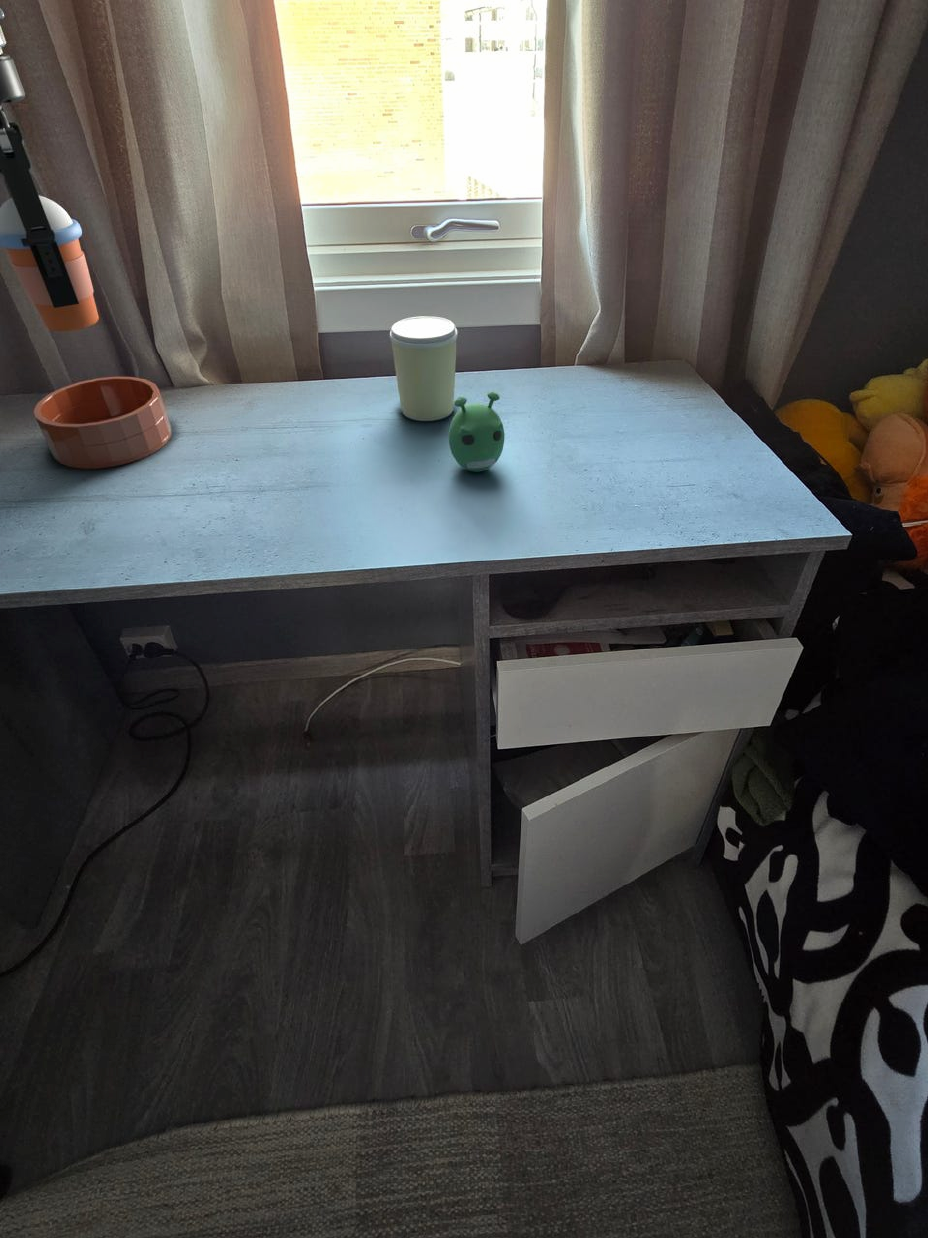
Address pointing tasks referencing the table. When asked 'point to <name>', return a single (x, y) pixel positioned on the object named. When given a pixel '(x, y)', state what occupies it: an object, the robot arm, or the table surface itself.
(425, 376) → the coffee cup
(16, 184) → the robot arm
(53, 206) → the cup with straw
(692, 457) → the table surface
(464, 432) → the alien toy
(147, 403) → the bowl
